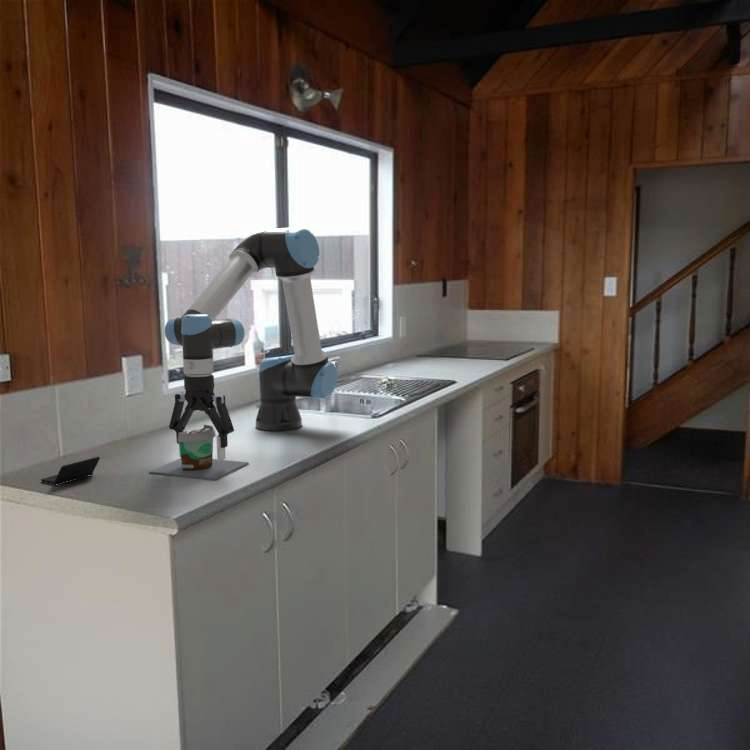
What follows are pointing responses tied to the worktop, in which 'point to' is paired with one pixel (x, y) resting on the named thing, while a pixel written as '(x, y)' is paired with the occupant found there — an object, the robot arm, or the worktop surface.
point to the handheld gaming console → (73, 471)
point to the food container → (197, 448)
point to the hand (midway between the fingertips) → (202, 457)
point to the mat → (210, 473)
